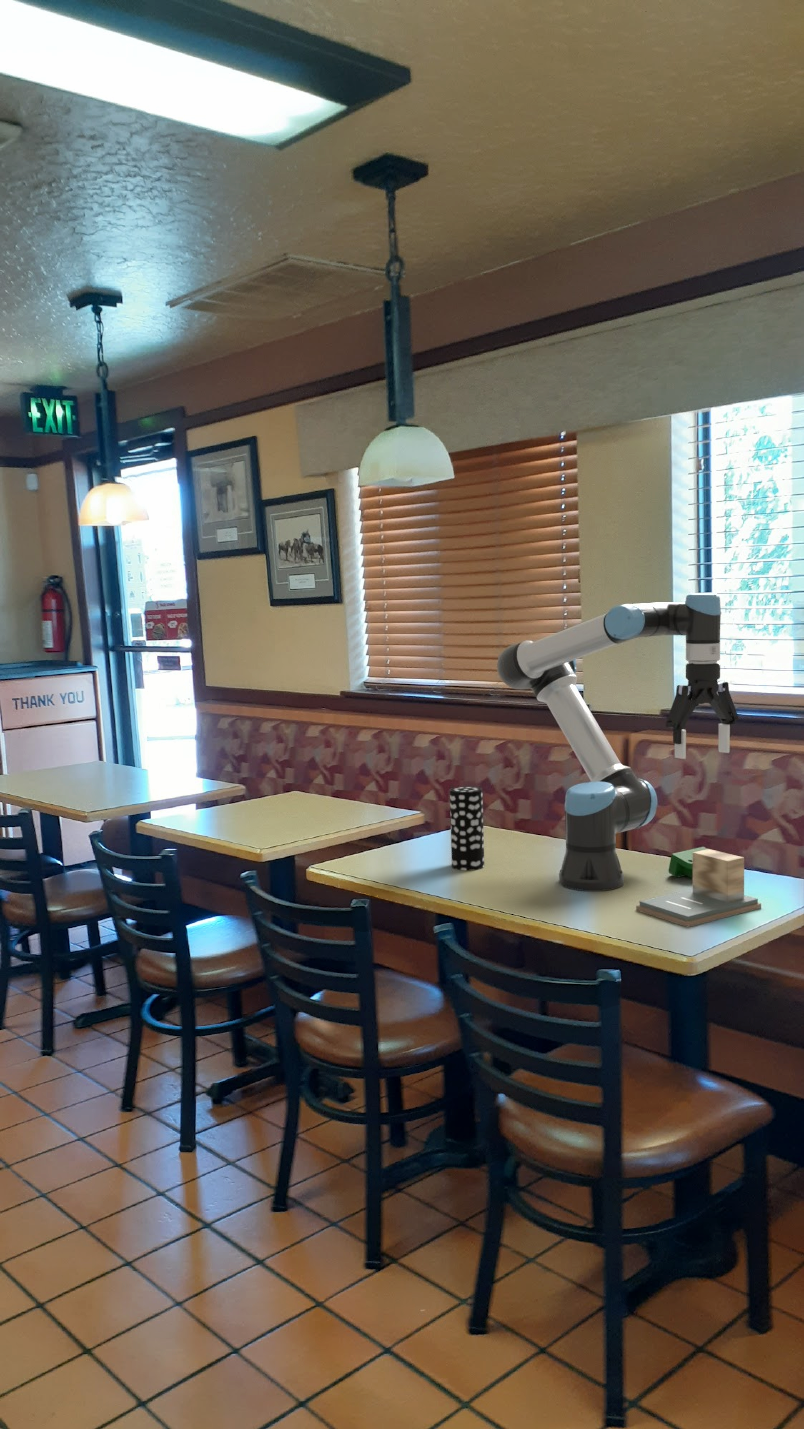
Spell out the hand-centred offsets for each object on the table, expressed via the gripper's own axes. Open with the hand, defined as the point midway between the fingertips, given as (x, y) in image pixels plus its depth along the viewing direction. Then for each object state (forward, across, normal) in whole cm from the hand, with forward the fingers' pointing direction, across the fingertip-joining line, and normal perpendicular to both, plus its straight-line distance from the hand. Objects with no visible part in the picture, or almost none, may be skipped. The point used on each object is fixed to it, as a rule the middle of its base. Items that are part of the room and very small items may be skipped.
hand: (702, 755), depth 244 cm
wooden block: (+29, -7, -12) cm, 32 cm away
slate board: (+31, -13, -12) cm, 35 cm away
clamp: (+31, +7, +9) cm, 33 cm away
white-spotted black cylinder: (+32, -33, +49) cm, 67 cm away
